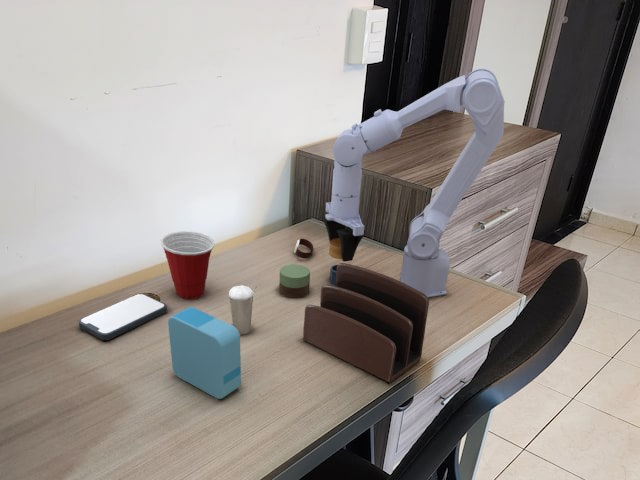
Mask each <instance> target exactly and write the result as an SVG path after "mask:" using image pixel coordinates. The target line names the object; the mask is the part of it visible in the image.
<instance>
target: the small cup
mask: <svg viewBox="0 0 640 480" xmlns="http://www.w3.org/2000/svg"><path fill="white" fill-rule="evenodd" d="M338 264H339V263H337V264H333V265H331V266H330V268H329V284H330V285H332V286H336V276H337V266H338Z"/></svg>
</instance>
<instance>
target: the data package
mask: <svg viewBox="0 0 640 480" xmlns="http://www.w3.org/2000/svg"><path fill="white" fill-rule="evenodd" d="M167 325H168V334H169V335H168V337H169V348H170V356H171V366H172V370H173V373H174V374H175V375H176V377H177V378H179V379H181V380H182V381H184V382H186V383H188V384H189V385H192V386H194V387H195V388H197V389H199V390H201V391H203V392H205V393H206V394H208V395H210V396H212V397H214V398H215V399H217V400H221V399H224V398H225V397H226V396H229V394H231V393H233V392H234V391H235V390H237V389H239V388H240V387H241V386H242V364H241V363H242V361H241V359H242V357H241V334H239V332H238V330H237V329H236V328H235V327H234V326H233V324H230V323H228V322H226V321H224V320H221V319H219V318H217V317H214V316H213V315H210V314H209V313H206V312H205V311H202V310H199V309H197V308H195V307H193V306H189V307H186V308H185V309H183V310H181V311H180V312H177V313H175V314H173V315H172V316H170V317H169V318H168V320H167Z"/></svg>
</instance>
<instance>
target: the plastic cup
mask: <svg viewBox="0 0 640 480" xmlns="http://www.w3.org/2000/svg"><path fill="white" fill-rule="evenodd" d="M160 245H161V247H162V249H163V250H164V251H163V252H164V254H165V258H166V261H167V264H168V268H169V271H170V275H171V280H172V282H173V285H174V288H175V293H176V295H177V296H178V297H179V298H181V299H184V300H195V299H199V298H201V297H203V295H204V294H205V291H206V283H207V277H208V271H209V263H210V257H211V254H212V251H213V249H214V248H215V246H216V243H215V240H214V239H213V238H212V237H210V235H207V234H204V233H202V232H196V231H184V230H183V231H182V230H181V231H175V232H170V233H167V234H165V235H163V237H162V238H161V239H160Z"/></svg>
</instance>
